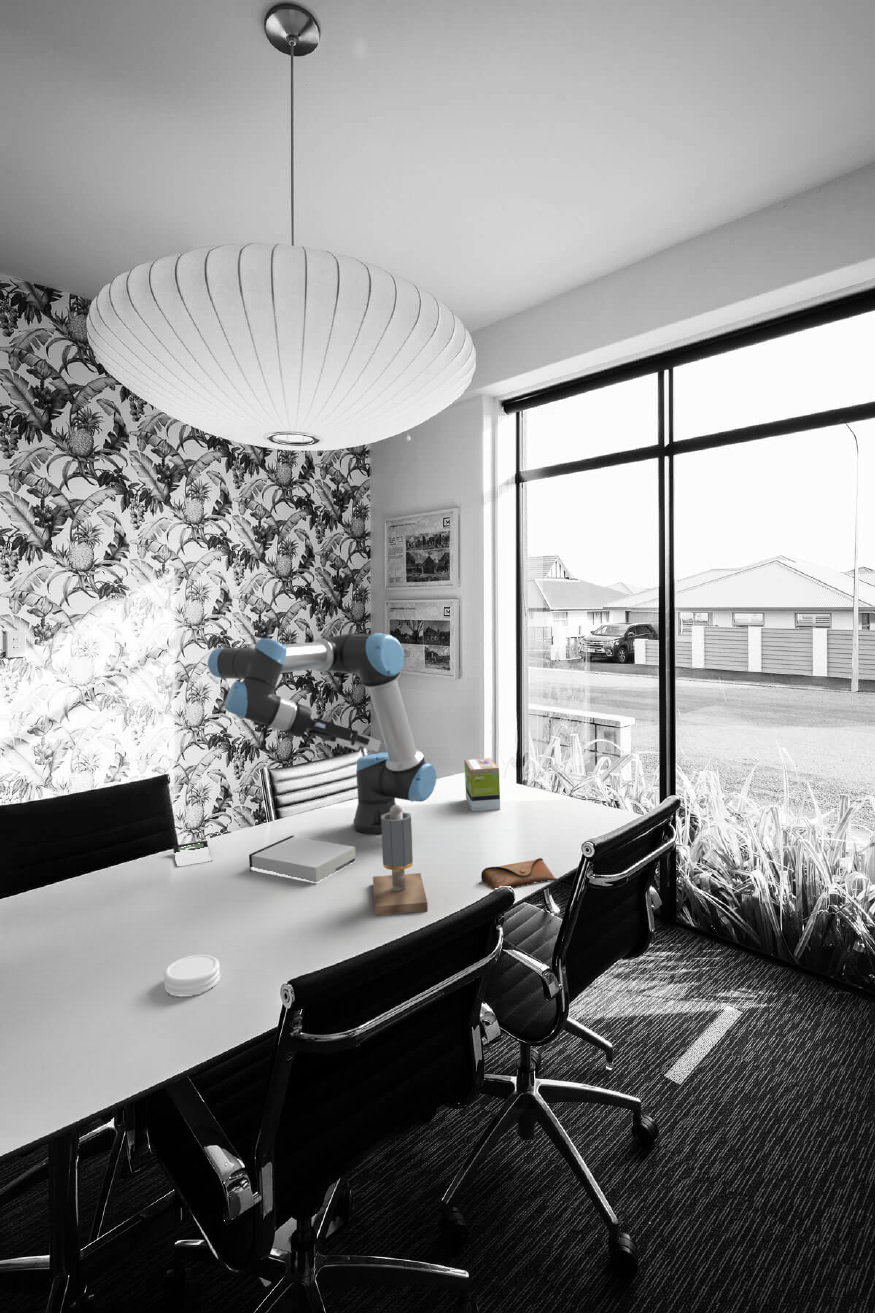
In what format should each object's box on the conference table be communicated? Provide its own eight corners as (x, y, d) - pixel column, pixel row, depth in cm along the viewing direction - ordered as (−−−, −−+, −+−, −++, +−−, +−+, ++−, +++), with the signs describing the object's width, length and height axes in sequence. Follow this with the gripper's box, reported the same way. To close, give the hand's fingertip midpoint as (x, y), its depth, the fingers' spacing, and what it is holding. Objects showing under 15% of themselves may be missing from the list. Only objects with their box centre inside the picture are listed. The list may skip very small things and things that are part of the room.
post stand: (375, 915, 163) (371, 818, 161) (373, 884, 181) (369, 796, 179) (427, 911, 164) (424, 814, 162) (420, 880, 182) (417, 793, 180)
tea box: (465, 799, 255) (463, 758, 254) (492, 798, 256) (491, 757, 255) (471, 812, 240) (470, 768, 239) (501, 810, 241) (500, 766, 240)
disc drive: (292, 852, 208) (291, 835, 207) (356, 863, 197) (355, 845, 197) (249, 872, 192) (248, 854, 192) (316, 886, 182) (315, 867, 181)
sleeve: (383, 867, 168) (381, 821, 167) (382, 857, 175) (380, 813, 174) (413, 865, 169) (411, 819, 168) (411, 855, 176) (409, 811, 175)
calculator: (176, 868, 197) (176, 858, 197) (173, 855, 207) (173, 845, 207) (212, 862, 201) (211, 852, 200) (207, 850, 211) (206, 840, 211)
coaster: (181, 1005, 129) (180, 986, 128) (154, 986, 135) (153, 968, 135) (230, 982, 136) (229, 964, 136) (202, 965, 143) (201, 948, 142)
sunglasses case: (496, 892, 173) (489, 864, 176) (485, 897, 179) (478, 870, 182) (560, 879, 180) (552, 852, 183) (547, 884, 186) (540, 859, 188)
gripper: (272, 732, 182) (347, 758, 190) (300, 732, 160) (383, 762, 168) (282, 704, 184) (356, 731, 192) (311, 701, 162) (393, 732, 170)
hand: (368, 746), depth 180 cm, fingers open, 13 cm apart
